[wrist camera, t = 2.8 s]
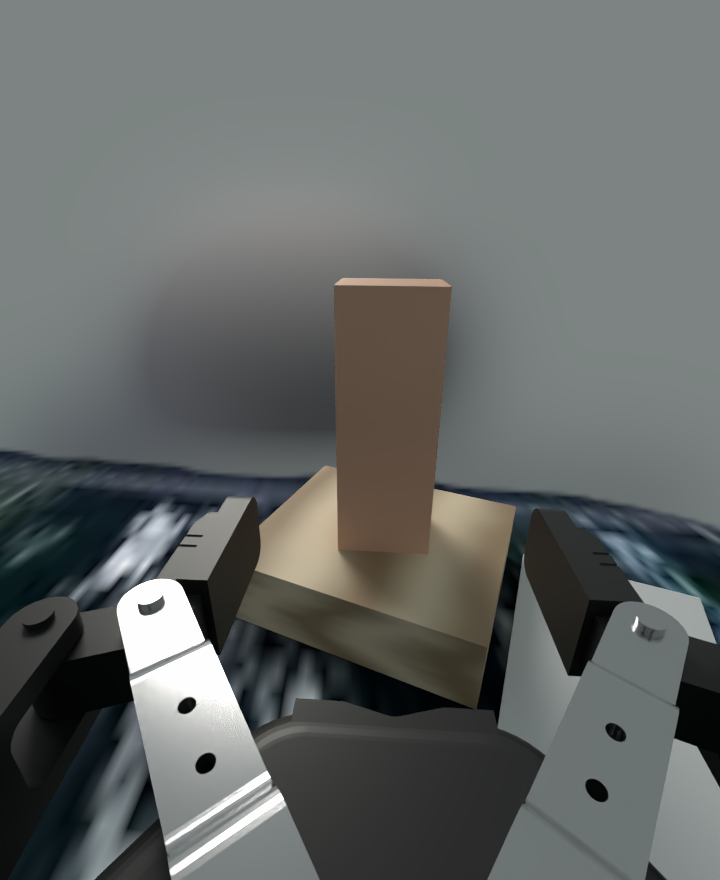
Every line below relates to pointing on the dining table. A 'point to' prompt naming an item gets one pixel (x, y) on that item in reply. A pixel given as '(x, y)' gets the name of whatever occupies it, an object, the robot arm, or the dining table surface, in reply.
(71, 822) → the dining table surface
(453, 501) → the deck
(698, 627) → the mat
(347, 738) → the robot arm
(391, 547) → the tall tan block
